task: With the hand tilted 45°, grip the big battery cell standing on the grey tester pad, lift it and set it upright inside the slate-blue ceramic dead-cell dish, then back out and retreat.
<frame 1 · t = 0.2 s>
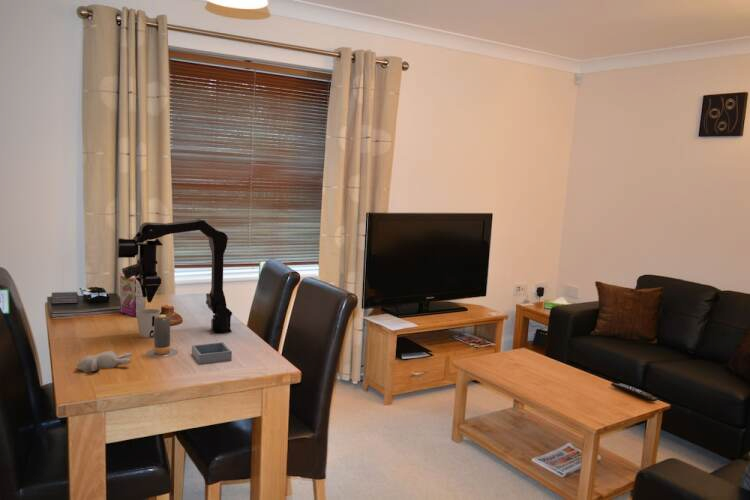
hand: (146, 299, 207), 15 cm above the table, tool pointing down, fingers open, 9 cm apart
cup: (148, 338, 210), on the table
brown rounded piece: (167, 323, 231), on the table
bunny figurine: (105, 369, 177), on the table
dead-cell dish: (211, 359, 190), on the table
tester pad: (162, 355, 191), on the table
candy bar box: (132, 314, 240), on the table
battery cell: (162, 352, 191), point 1 cm above the table, touching tester pad
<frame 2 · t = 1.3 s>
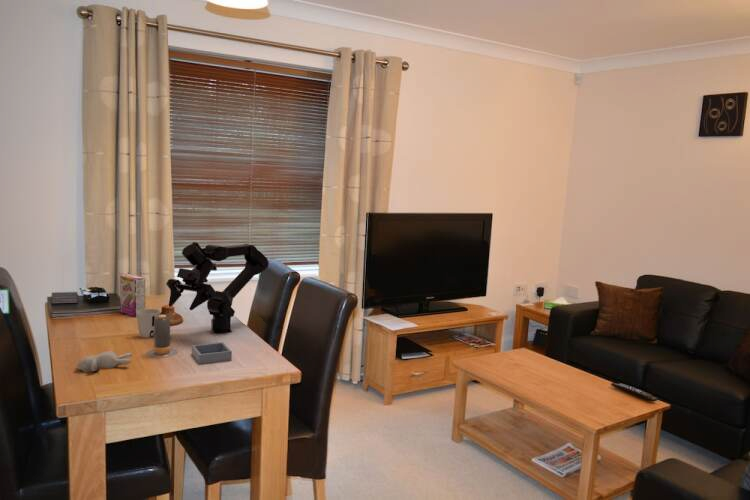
hand: (179, 307, 201), 14 cm above the table, tool tilted 45°, fingers open, 9 cm apart
nothing on the table moved.
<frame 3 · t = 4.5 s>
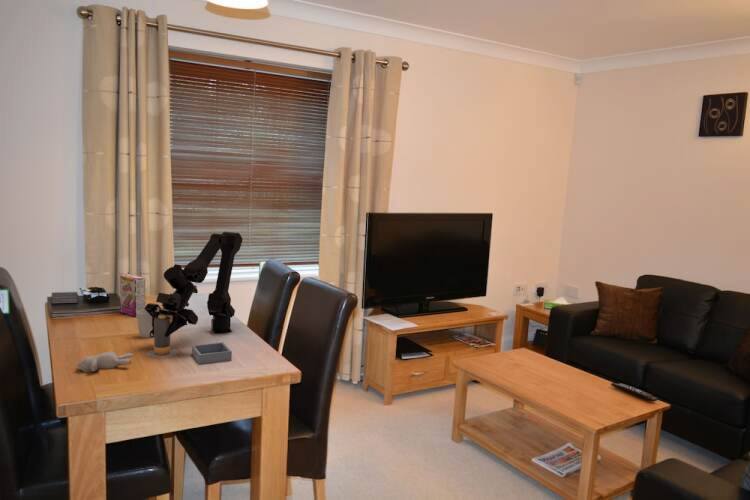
hand: (159, 335, 189), 8 cm above the table, tool tilted 45°, fingers closed on battery cell, 5 cm apart
battery cell: (162, 352, 191), point 1 cm above the table, touching gripper, tester pad
everything else where it was.
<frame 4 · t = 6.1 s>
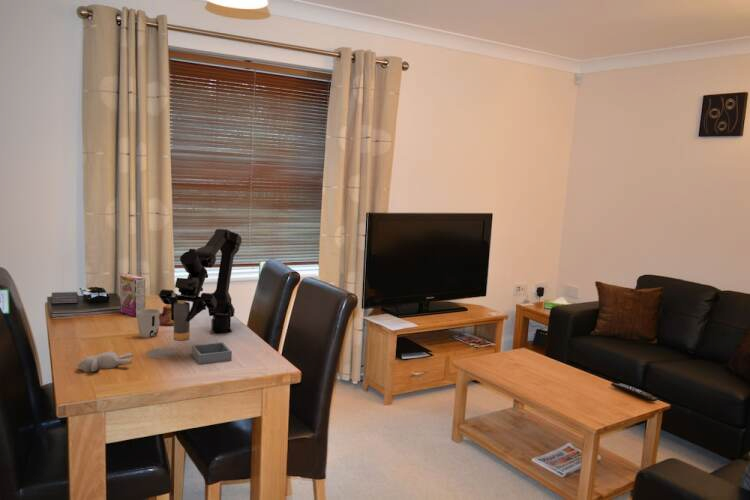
hand: (179, 320, 187), 13 cm above the table, tool tilted 45°, fingers closed on battery cell, 5 cm apart
battery cell: (181, 338, 189), point 7 cm above the table, touching gripper
everything else where it was.
when the fingers open (9 cm above the table, at t = 8.1 s): battery cell drops 1 cm, resting on dead-cell dish.
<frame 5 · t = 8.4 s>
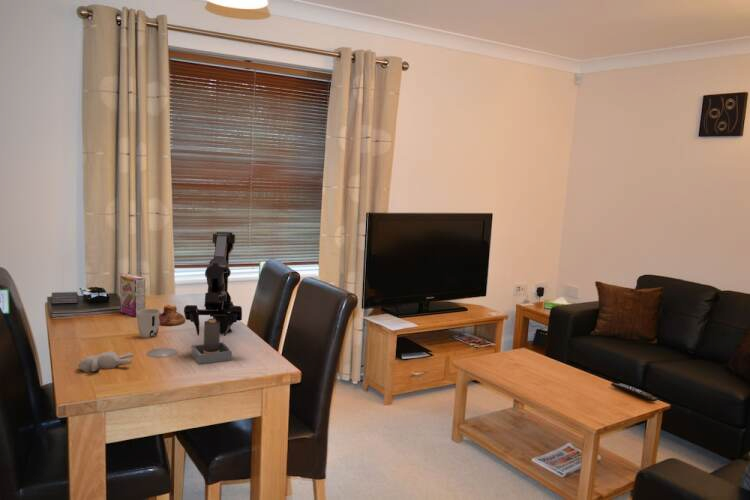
hand: (211, 335, 187), 9 cm above the table, tool tilted 45°, fingers open, 8 cm apart
battery cell: (211, 356, 190), point 1 cm above the table, touching dead-cell dish
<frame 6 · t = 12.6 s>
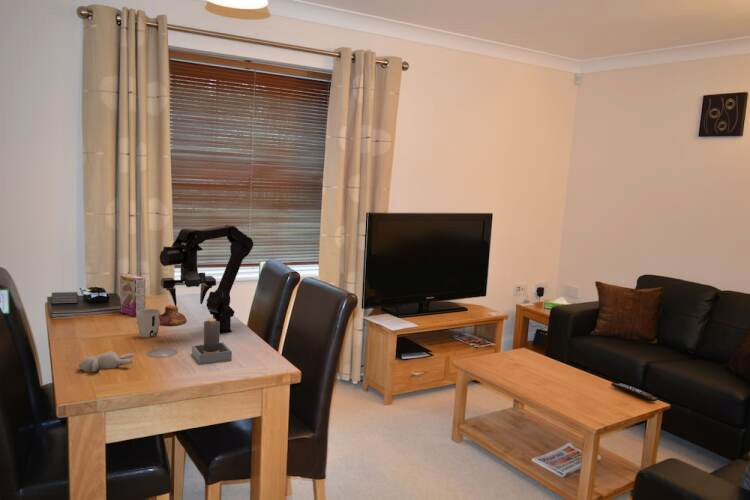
hand: (188, 304, 209), 13 cm above the table, tool pointing down, fingers open, 9 cm apart
at the end: battery cell 0.0 cm off-centre on the dead-cell dish, point 1.0 cm above the dead-cell dish's base; battery cell tilted 0°; the gripper is holding nothing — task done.
